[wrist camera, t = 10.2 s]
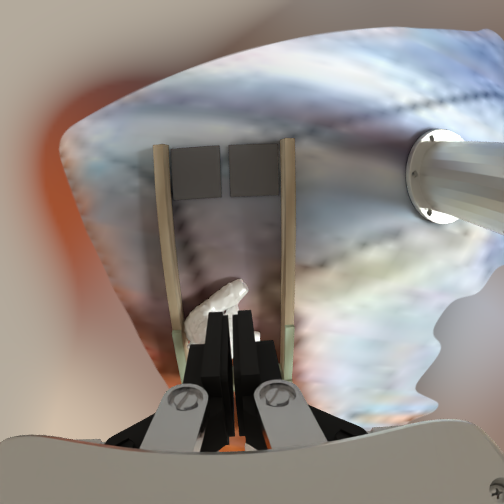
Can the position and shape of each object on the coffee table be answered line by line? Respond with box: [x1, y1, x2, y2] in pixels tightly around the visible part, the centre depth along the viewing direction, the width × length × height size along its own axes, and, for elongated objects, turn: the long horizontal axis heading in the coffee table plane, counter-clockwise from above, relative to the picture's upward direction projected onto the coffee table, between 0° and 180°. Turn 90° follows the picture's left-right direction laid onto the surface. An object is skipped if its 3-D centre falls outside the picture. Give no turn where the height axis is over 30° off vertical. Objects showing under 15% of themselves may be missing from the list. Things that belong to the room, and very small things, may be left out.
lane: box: [153, 138, 296, 391], centre depth 34 cm, size 14×30×4 cm, turn 2°
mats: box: [171, 144, 279, 200], centre depth 32 cm, size 11×6×1 cm, turn 92°
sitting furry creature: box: [184, 279, 260, 363], centre depth 31 cm, size 10×9×12 cm
